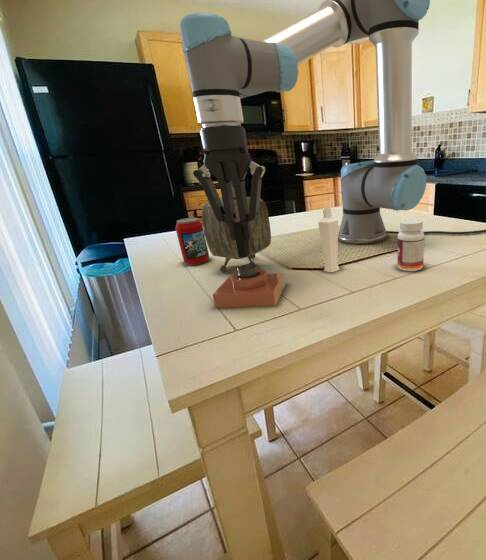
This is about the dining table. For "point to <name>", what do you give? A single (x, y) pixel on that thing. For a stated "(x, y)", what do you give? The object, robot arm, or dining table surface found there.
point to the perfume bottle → (329, 240)
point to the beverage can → (192, 241)
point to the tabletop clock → (220, 234)
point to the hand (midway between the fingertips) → (244, 255)
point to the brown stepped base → (250, 290)
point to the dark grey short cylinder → (247, 271)
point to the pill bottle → (410, 245)
